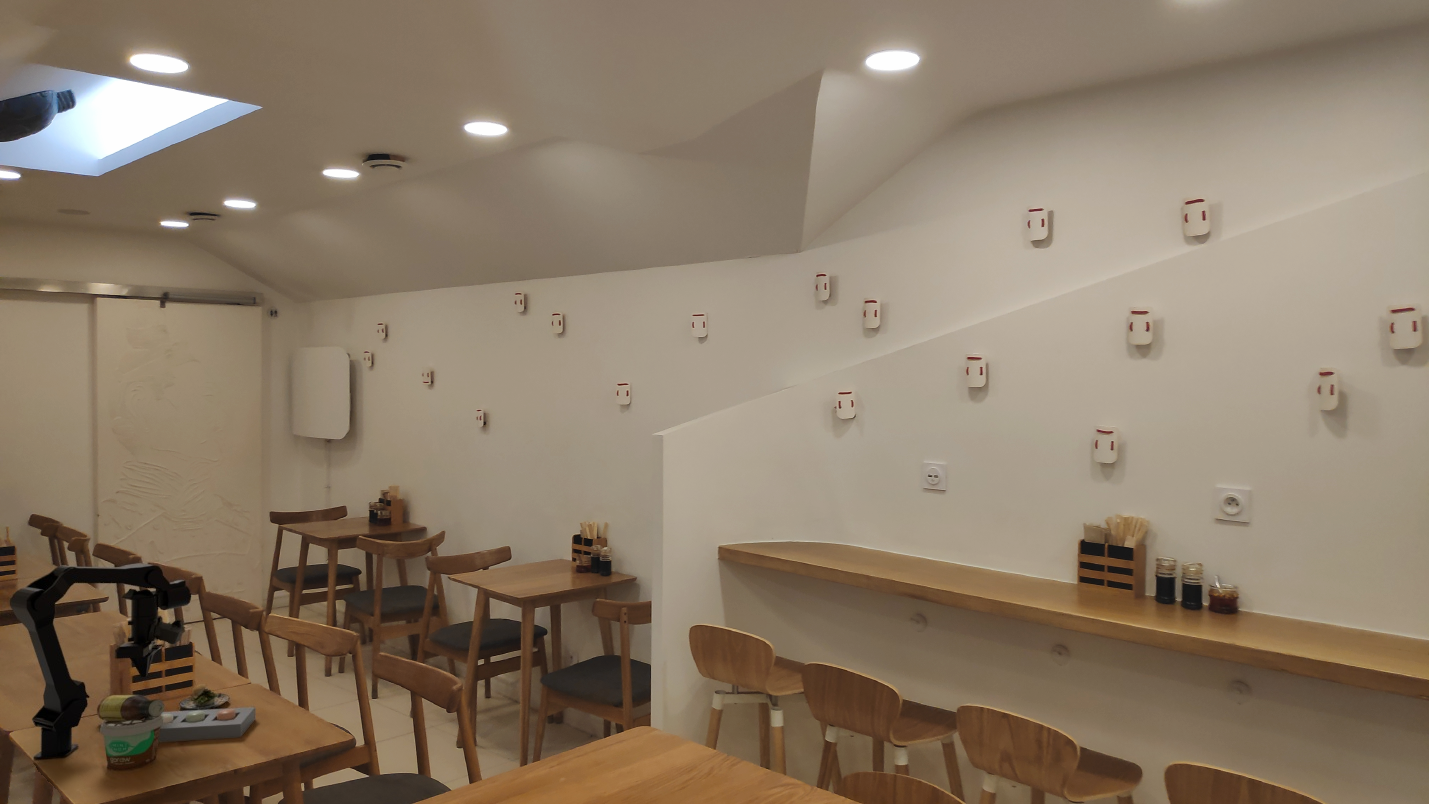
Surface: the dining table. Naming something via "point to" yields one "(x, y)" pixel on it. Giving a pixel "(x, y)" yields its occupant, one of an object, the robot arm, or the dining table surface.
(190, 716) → the sage button
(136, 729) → the food container
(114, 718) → the sauce bottle
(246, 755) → the dining table surface
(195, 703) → the burger
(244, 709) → the panel
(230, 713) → the terracotta button
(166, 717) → the cream button
